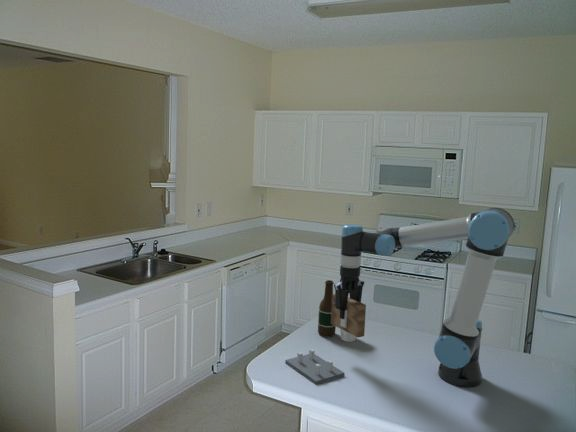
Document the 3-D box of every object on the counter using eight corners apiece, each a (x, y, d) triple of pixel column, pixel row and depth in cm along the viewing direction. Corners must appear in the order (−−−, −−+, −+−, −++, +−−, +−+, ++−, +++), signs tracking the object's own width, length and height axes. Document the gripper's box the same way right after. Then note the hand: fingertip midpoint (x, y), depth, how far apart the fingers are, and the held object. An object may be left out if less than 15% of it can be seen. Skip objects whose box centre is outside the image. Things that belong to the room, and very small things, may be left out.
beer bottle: (316, 335, 213) (319, 282, 210) (319, 329, 221) (322, 277, 217) (333, 338, 212) (337, 284, 208) (336, 331, 219) (339, 279, 215)
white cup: (343, 343, 207) (344, 320, 205) (336, 335, 214) (337, 314, 213) (360, 341, 209) (362, 319, 207) (353, 334, 216) (354, 313, 215)
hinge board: (344, 375, 177) (345, 363, 177) (315, 384, 170) (316, 371, 169) (312, 355, 193) (313, 344, 192) (285, 362, 186) (285, 351, 185)
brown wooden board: (364, 336, 182) (365, 304, 180) (356, 337, 180) (358, 306, 178) (336, 322, 195) (338, 293, 193) (329, 324, 193) (330, 294, 191)
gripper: (359, 261, 192) (356, 319, 195) (327, 265, 183) (324, 326, 186) (373, 265, 185) (369, 325, 189) (340, 270, 176) (337, 332, 180)
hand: (347, 325), depth 187 cm, fingers closed on brown wooden board, 3 cm apart
